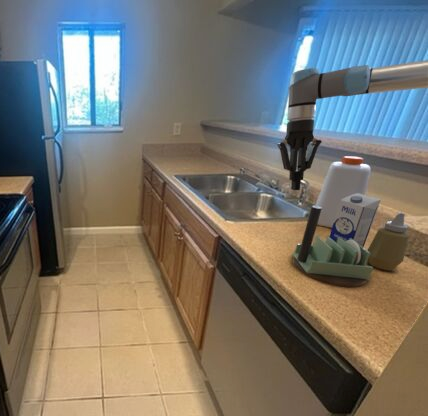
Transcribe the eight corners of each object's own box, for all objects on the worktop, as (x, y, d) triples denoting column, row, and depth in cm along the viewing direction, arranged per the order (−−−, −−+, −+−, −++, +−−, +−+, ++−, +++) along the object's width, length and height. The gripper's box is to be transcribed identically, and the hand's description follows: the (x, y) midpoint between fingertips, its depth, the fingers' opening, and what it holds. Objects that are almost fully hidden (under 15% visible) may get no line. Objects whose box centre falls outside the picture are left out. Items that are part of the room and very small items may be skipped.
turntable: (364, 265, 86) (365, 263, 86) (369, 295, 73) (370, 292, 73) (295, 248, 97) (296, 246, 97) (289, 272, 84) (290, 269, 84)
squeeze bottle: (403, 276, 81) (427, 220, 75) (367, 268, 85) (387, 215, 78) (393, 262, 88) (415, 210, 81) (360, 256, 91) (378, 206, 85)
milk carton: (361, 254, 93) (382, 198, 85) (346, 257, 91) (365, 200, 84) (340, 244, 99) (357, 192, 92) (325, 247, 98) (341, 194, 90)
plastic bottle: (308, 224, 116) (326, 158, 106) (313, 213, 126) (330, 152, 116) (355, 234, 107) (380, 163, 96) (356, 221, 117) (379, 156, 107)
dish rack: (348, 259, 88) (367, 204, 81) (370, 279, 78) (395, 218, 71) (289, 254, 92) (303, 200, 85) (304, 272, 82) (321, 213, 75)
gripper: (315, 119, 94) (309, 187, 99) (274, 122, 96) (270, 189, 101) (329, 117, 87) (322, 190, 92) (284, 120, 89) (280, 192, 94)
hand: (295, 189), depth 96 cm, fingers closed
